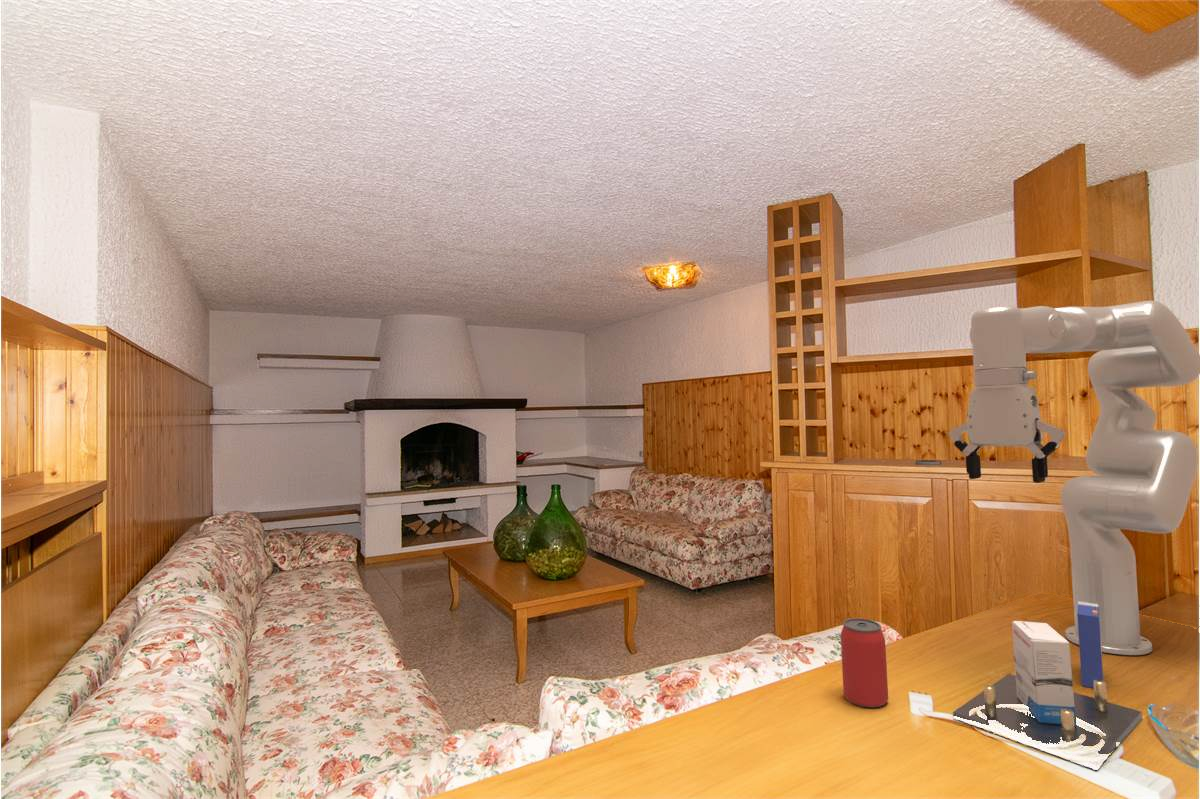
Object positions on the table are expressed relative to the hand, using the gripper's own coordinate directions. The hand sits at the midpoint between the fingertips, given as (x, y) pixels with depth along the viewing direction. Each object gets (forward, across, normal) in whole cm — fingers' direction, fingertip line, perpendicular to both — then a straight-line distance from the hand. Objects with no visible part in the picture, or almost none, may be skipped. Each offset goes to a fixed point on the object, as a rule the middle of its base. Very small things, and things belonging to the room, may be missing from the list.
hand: (1005, 480), depth 103 cm
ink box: (+32, -8, +12) cm, 35 cm away
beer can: (+34, +12, +26) cm, 44 cm away
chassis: (+33, -8, +12) cm, 36 cm away
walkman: (+34, -8, -8) cm, 35 cm away
